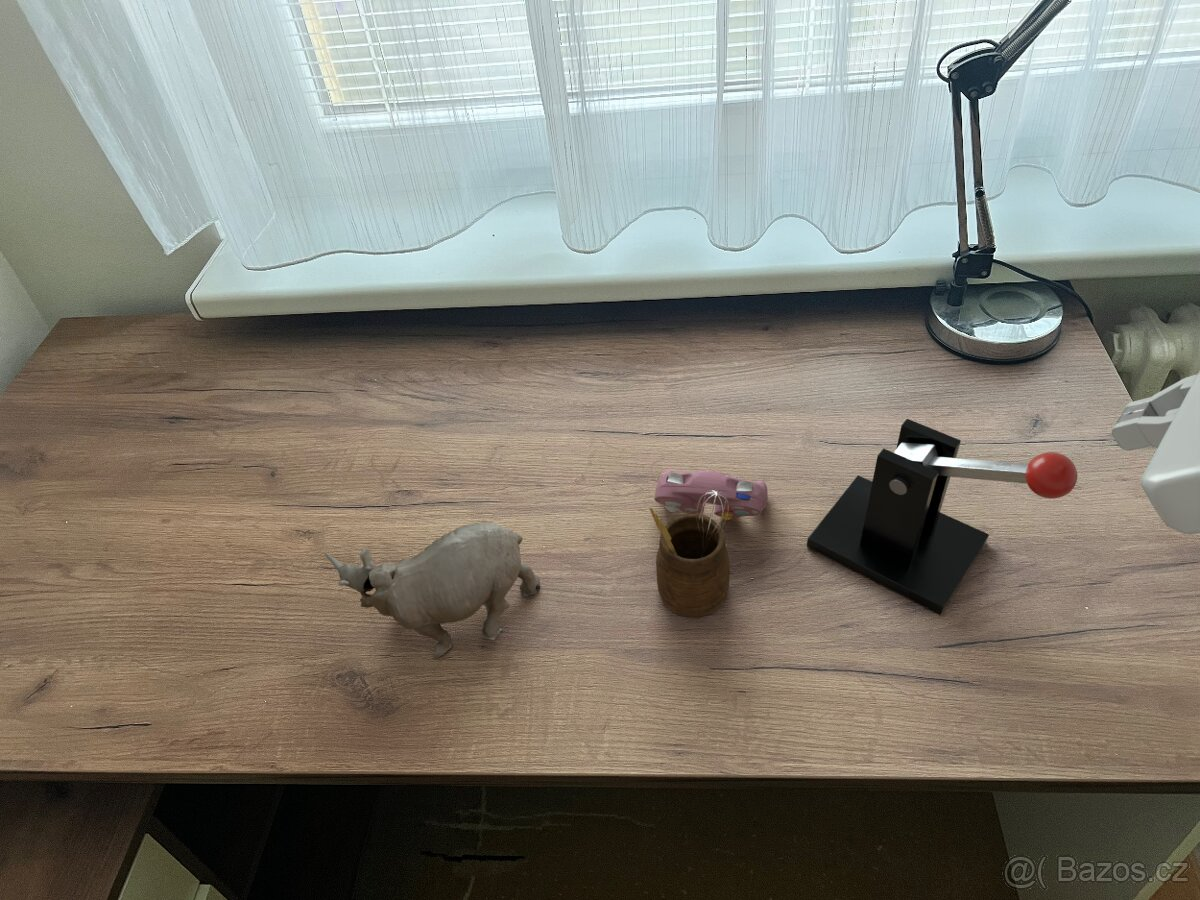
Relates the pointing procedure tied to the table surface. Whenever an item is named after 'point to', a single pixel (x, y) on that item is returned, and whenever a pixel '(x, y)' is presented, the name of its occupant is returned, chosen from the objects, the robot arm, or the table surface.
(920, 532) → the bracket
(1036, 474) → the lever
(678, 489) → the pink toy car
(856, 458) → the table surface
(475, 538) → the rhinoceros figurine
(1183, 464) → the robot arm
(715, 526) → the utensil holder
